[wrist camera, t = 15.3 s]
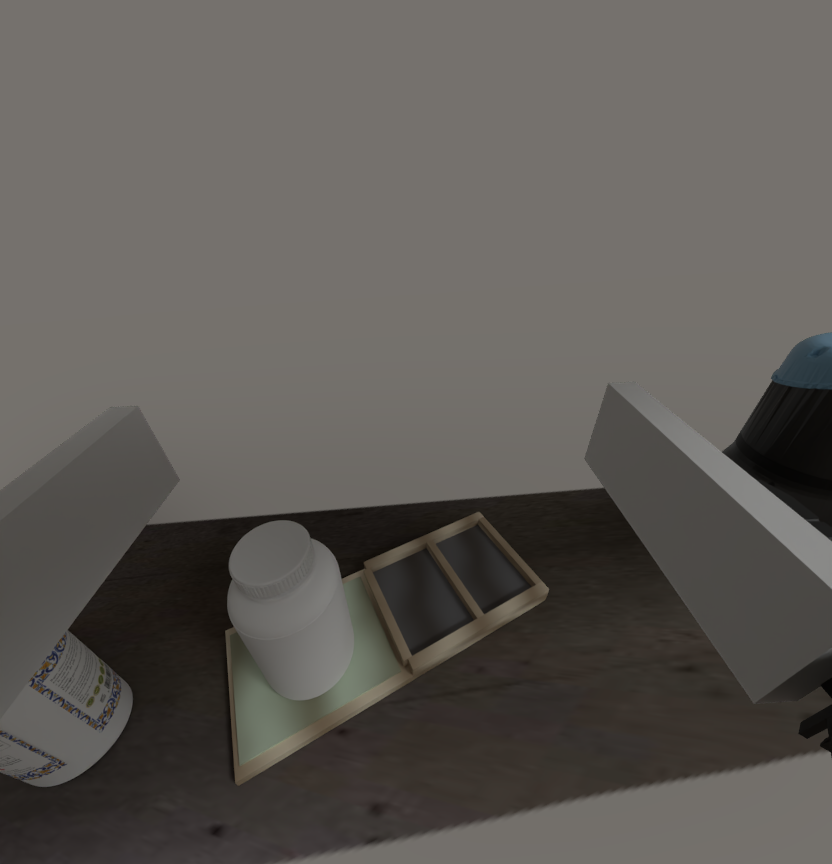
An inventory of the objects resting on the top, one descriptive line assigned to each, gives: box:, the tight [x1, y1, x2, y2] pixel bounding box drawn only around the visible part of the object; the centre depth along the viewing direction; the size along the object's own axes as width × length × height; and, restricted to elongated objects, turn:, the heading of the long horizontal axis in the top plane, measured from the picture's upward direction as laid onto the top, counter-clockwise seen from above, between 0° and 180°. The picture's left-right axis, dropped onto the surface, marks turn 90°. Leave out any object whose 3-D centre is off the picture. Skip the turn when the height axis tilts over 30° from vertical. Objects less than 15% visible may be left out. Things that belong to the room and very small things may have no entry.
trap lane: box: [225, 512, 549, 786], centre depth 35 cm, size 30×12×2 cm, turn 118°
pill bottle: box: [227, 520, 354, 701], centre depth 28 cm, size 8×8×15 cm
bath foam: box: [0, 630, 133, 787], centre depth 23 cm, size 7×7×20 cm
